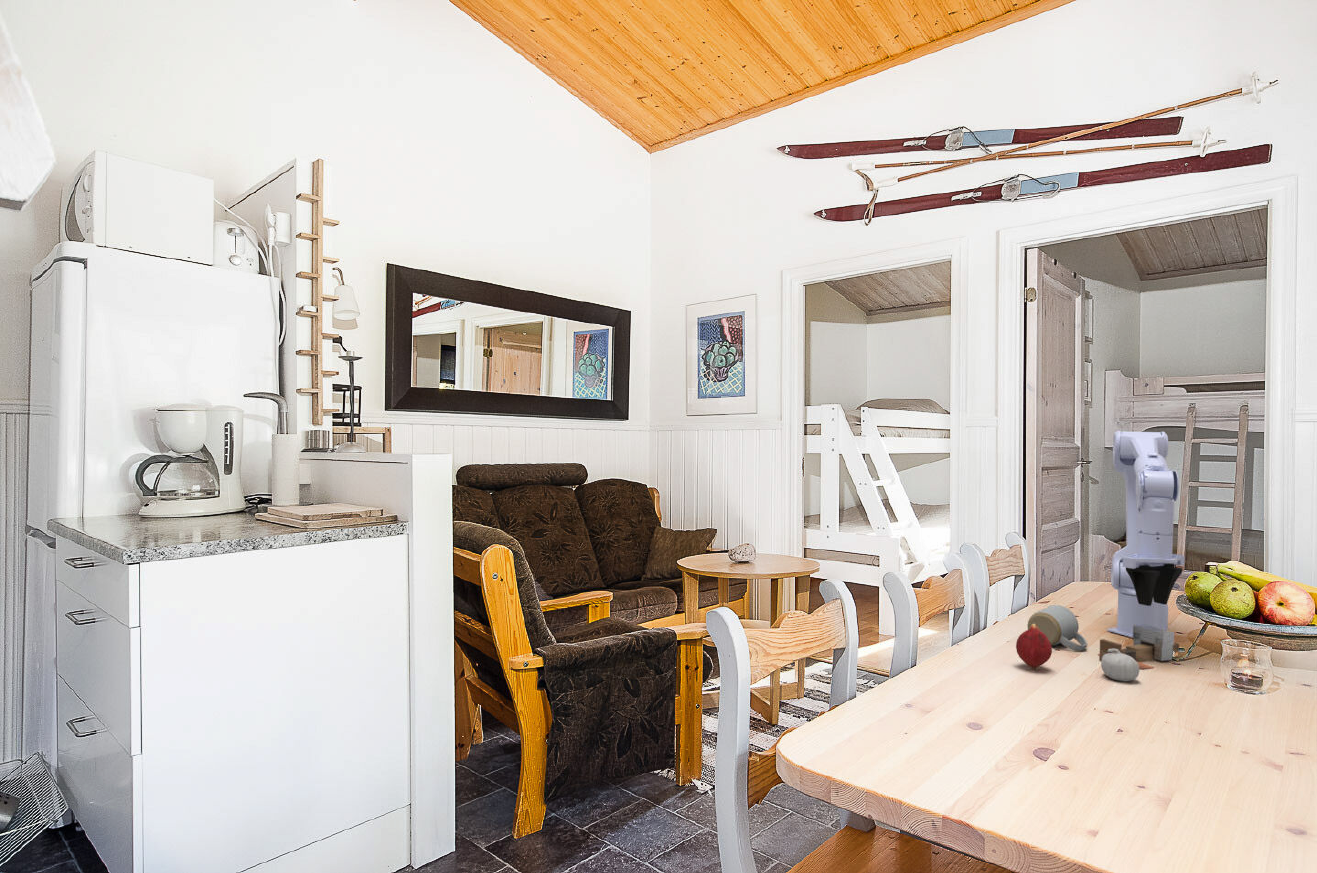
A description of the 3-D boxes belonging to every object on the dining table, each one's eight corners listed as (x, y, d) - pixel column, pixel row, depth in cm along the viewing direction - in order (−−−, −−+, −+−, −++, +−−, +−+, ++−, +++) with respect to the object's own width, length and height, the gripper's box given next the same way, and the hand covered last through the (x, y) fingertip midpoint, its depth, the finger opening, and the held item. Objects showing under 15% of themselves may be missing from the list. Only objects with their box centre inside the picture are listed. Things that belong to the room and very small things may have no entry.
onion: (1057, 674, 134) (1058, 629, 134) (1024, 673, 134) (1025, 628, 134) (1041, 664, 140) (1042, 620, 140) (1010, 663, 140) (1011, 619, 140)
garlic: (1094, 677, 133) (1095, 648, 133) (1105, 672, 137) (1106, 643, 137) (1132, 687, 129) (1134, 656, 128) (1143, 681, 132) (1144, 651, 132)
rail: (1151, 648, 152) (1151, 629, 152) (1197, 662, 144) (1197, 641, 144) (1086, 656, 146) (1087, 635, 146) (1131, 671, 137) (1131, 649, 137)
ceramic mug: (1023, 642, 155) (1025, 606, 155) (1041, 636, 160) (1043, 601, 160) (1076, 655, 147) (1078, 617, 147) (1093, 649, 152) (1095, 612, 152)
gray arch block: (1142, 650, 149) (1143, 624, 149) (1173, 659, 144) (1174, 632, 144) (1132, 652, 148) (1133, 625, 148) (1162, 661, 143) (1163, 633, 143)
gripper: (1149, 537, 139) (1146, 611, 139) (1201, 535, 144) (1199, 606, 145) (1113, 532, 146) (1111, 602, 146) (1165, 530, 151) (1162, 598, 151)
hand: (1152, 604), depth 146 cm, fingers open, 4 cm apart
